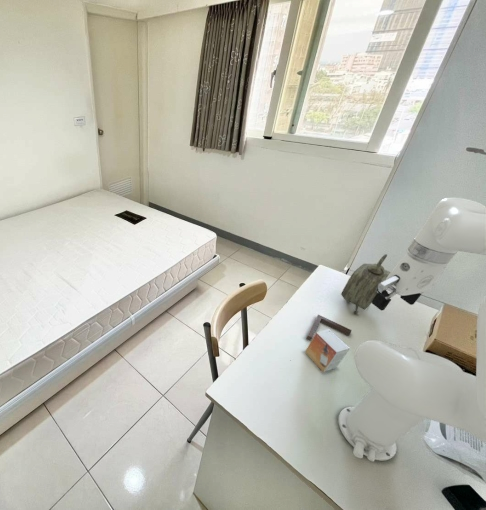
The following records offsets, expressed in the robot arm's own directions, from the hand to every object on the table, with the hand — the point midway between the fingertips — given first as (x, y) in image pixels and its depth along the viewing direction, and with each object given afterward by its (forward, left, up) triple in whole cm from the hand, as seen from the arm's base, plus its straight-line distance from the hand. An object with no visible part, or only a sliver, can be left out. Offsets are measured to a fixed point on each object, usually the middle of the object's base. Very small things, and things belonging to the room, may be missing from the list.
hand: (391, 303), depth 73 cm
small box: (-4, +7, -28) cm, 29 cm away
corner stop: (+9, +8, -28) cm, 30 cm away
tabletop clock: (+34, +4, -28) cm, 45 cm away
